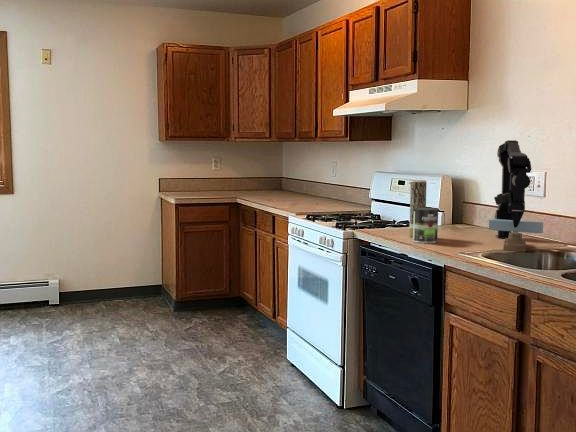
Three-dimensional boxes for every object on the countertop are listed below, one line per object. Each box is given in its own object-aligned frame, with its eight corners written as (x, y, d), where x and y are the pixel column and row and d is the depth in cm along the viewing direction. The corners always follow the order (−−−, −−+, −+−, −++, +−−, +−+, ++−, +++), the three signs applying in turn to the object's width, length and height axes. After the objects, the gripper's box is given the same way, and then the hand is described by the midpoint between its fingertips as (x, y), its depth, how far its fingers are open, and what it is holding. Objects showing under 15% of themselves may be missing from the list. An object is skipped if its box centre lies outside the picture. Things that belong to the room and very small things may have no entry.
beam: (490, 228, 259) (491, 218, 258) (542, 232, 248) (543, 222, 248) (488, 229, 256) (489, 219, 255) (541, 233, 245) (541, 223, 245)
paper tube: (422, 235, 282) (424, 179, 279) (426, 238, 275) (428, 180, 272) (407, 235, 282) (409, 179, 279) (411, 238, 275) (412, 181, 272)
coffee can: (441, 243, 263) (442, 209, 261) (418, 243, 261) (419, 210, 259) (431, 239, 273) (432, 206, 271) (408, 240, 271) (409, 207, 269)
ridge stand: (504, 243, 262) (505, 227, 262) (525, 244, 260) (526, 228, 259) (503, 250, 246) (504, 233, 245) (525, 251, 243) (526, 234, 242)
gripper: (496, 184, 261) (495, 222, 263) (494, 188, 244) (493, 228, 246) (525, 185, 257) (523, 223, 259) (525, 189, 240) (523, 229, 242)
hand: (515, 226), depth 252 cm, fingers open, 9 cm apart
